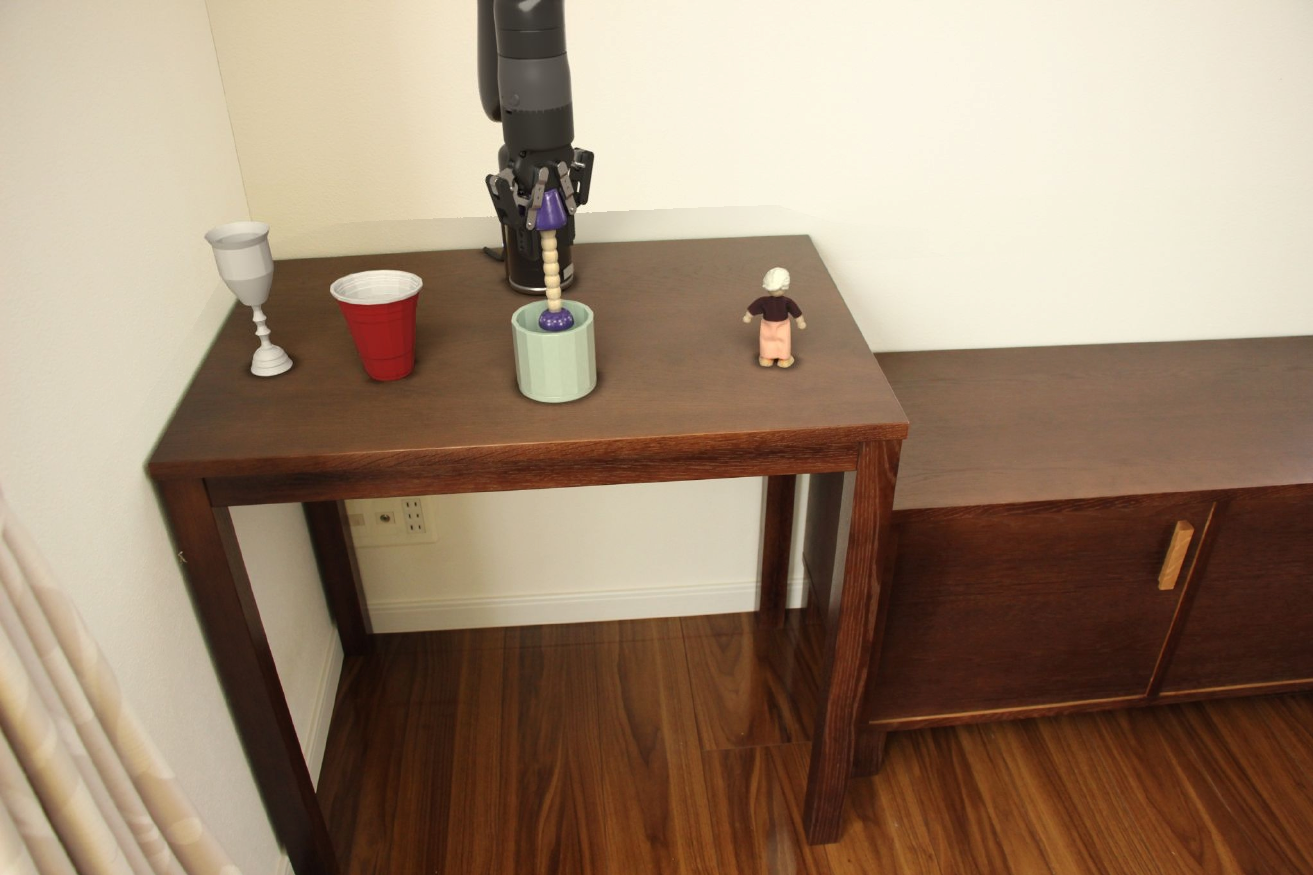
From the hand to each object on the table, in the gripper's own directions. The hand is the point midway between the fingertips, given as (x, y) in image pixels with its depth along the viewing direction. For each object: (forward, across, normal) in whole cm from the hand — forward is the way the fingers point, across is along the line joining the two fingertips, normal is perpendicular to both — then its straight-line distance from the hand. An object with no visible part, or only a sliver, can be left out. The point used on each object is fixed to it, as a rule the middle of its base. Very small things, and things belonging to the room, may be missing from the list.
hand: (547, 250), depth 112 cm
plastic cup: (+17, +12, -18) cm, 28 cm away
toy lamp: (+10, 0, 0) cm, 10 cm away
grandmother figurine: (+17, -22, +16) cm, 32 cm away
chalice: (+17, +22, -30) cm, 41 cm away
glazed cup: (+17, 0, 0) cm, 17 cm away
